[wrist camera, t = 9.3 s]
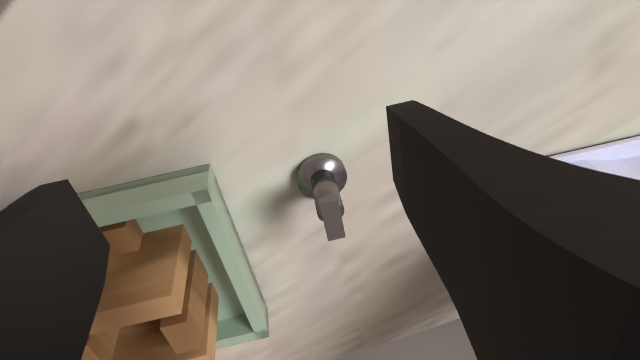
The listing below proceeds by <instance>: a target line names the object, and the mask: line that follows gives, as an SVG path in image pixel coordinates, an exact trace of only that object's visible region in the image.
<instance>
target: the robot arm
mask: <svg viewBox="0 0 640 360" xmlns="http://www.w3.org/2000/svg"><path fill="white" fill-rule="evenodd" d="M386 111H387V121H388V132H389V142H390V152H391V162H392V172H393V181H394V183H395V186H396V189H397V191H398V194H399V197H400V200H401V202H402V205H403V207H404V210H405V212H406V215H407V217H408V219H409V221H410V222H411V224H412V226H413V228H414V230H415V232H416V234H417V235H418V237H419V239H420V241H421V243H422V245H423V247H424V248H425V250H426V252H427V254H428V256H429V258H430V259H431V261H432V263H433V265H434V267H435V268H436V270H437V272H438V274H439V276H440V278H441V279H442V281H443V283H444V285H445V287H446V289H447V290H448V292H449V295H450V297H451V299H452V301H453V303H454V305H455V307H456V309H457V311H458V314H459V316H460V318H461V321H462V323H463V326H464V328H465V330H466V333H467V335H468V338H469V340H470V343H471V345H472V347H473V350H474V352H475V355H476V357H477V360H640V136H636V137H632V138H628V139H623V140H619V141H615V142H610V143H606V144H602V145H597V146H593V147H589V148H584V149H580V150H576V151H571V152H567V153H563V154H558V155H554V156H550V157H547V156H543V155H540V154H537V153H534V152H531V151H528V150H526V149H523V148H520V147H518V146H515V145H512V144H510V143H507V142H505V141H502V140H499V139H497V138H494V137H492V136H490V135H487V134H485V133H483V132H480V131H478V130H476V129H474V128H471V127H469V126H467V125H465V124H463V123H461V122H459V121H456V120H454V119H452V118H450V117H448V116H446V115H444V114H442V113H440V112H438V111H436V110H434V109H432V108H430V107H428V106H425V105H423V104H421V103H419V102H416V101H414V100H412V101H407V102H403V103H399V104H394V105H390V106H386ZM109 250H110V244H109V243H108V241H107V239H106V238H105V236H104V235H103V233H102V232H101V230H100V229H99V227H98V226H97V224H96V223H95V221H94V219H93V218H92V216H91V215H90V213H89V212H88V210H87V209H86V207H85V206H84V204H83V203H82V201H81V200H80V198H79V196H78V195H77V193H76V192H75V190H74V189H73V187H72V186H71V184H70V183H69V181H68V180H67V179H66V180H62V181H57V182H53V183H49V184H44V185H40V186H38V187H37V188H35V189H33V190H31V191H30V192H28V193H26V194H25V195H23V196H22V197H20V198H19V199H17V200H16V201H14V202H13V203H12V204H10V205H9V206H7V207H6V208H5V209H3V210H2V211H1V212H0V360H81V358H82V355H83V352H84V349H85V346H86V343H87V339H88V336H89V333H90V330H91V327H92V324H93V321H94V318H95V314H96V311H97V308H98V305H99V301H100V298H101V295H102V291H103V288H104V284H105V278H106V273H107V267H108V258H109Z"/></svg>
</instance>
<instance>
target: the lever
mask: <svg viewBox="0 0 640 360" xmlns="http://www.w3.org/2000/svg"><path fill="white" fill-rule="evenodd" d="M297 179H298V184H299V188H300V190H301V191H302V192H303V193H304V194H305V195H306V196H308V197H310V198H313V199H314V201H315V205H316V210H317V215H318V217H319V219H320V220H322V221H324V225H325V229H326V234H327V238H328V241H331V240H335V239H340V238H344V237H345V232H344V227H343V222H342V216H343V214H344V207H343V204H342V200H341V197H340V193H339V192H340V191H341V190H342V189H343V188H344V186H345V184H346V180H347V174H346V170H345V167H344V165H343V163H342V161H341V160H340V159H339V158H337V157H336V156H334V155H331V154H326V153H320V154H315V155H312V156H310V157H308V158H307V159H305V160H304V161H303V162H302V163H301V165H300V166H299V169H298V172H297Z"/></svg>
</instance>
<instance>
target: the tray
mask: <svg viewBox="0 0 640 360" xmlns="http://www.w3.org/2000/svg"><path fill="white" fill-rule="evenodd" d="M77 195H78V196H79V198H80V200H81V201H82V203H83V204H84V206H85V207H86V209H87V210H88V212H89V213H90V215H91V216H92V218H93V219H94V221H95V223H96V224H97V226H98V227H102V226H106V225H111V224H115V223H119V222H124V221H128V220H132V219H136V221H137V222H138V224H139V226H140V228H141V229H142V231H143V233H146V232H151V231H155V230H159V229H164V228H168V227H172V226H177V225H181V224H184V226H185V228H186V230H187V232H188V234H189V236H190V238H191V240H192V244H191V250H196V251H197V253H198V255H199V257H200V259H201V261H202V263H203V265H204V267H205V269H206V271H207V273H208V275H209V276H208V283H211V282H212V283H213V285H214V287H215V289H216V291H217V293H218V295H219V302H218V318H217V335H216V349H219V348H223V347H227V346H231V345H236V344H240V343H244V342H249V341H253V340H257V339H261V338H266V337H269V326H268V309H267V306H266V304H265V301H264V299H263V296H262V294H261V291H260V289H259V286H258V283H257V281H256V278H255V276H254V273H253V271H252V268H251V266H250V263H249V261H248V258H247V256H246V253H245V251H244V248H243V246H242V243H241V241H240V238H239V236H238V233H237V231H236V228H235V226H234V223H233V221H232V218H231V216H230V213H229V211H228V208H227V206H226V203H225V201H224V198H223V196H222V193H221V191H220V188H219V186H218V183H217V181H216V178H215V176H214V173H213V171H212V168H211V166H210V164H207V165H202V166H198V167H194V168H189V169H185V170H181V171H176V172H172V173H168V174H163V175H159V176H154V177H150V178H146V179H141V180H137V181H133V182H128V183H124V184H120V185H115V186H111V187H106V188H102V189H98V190H93V191H89V192H85V193H80V194H77Z"/></svg>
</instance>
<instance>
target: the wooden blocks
mask: <svg viewBox="0 0 640 360" xmlns="http://www.w3.org/2000/svg"><path fill="white" fill-rule="evenodd" d="M99 229H100V230H101V232H102V233H103V235H104V236H105V238H106V239H107V241H108V243H109V244H110V250H109V258H108V267H107V273H106V278H105V284H104V288H103V291H102V295H101V298H100V301H99V305H98V308H97V311H96V314H95V318H94V321H93V324H92V327H91V330H90V333H89V336H88V339H87V343H86V346H85V349H84V352H83V355H82V358H81V360H215V351H216V335H217V318H218V302H219V295H218V293H217V291H216V289H215V287H214V285H213V283H212V282H211V283H208V276H209V275H208V273H207V271H206V269H205V267H204V265H203V263H202V261H201V259H200V257H199V255H198V253H197V251H196V250H191V244H192V240H191V238H190V236H189V234H188V232H187V230H186V228H185V226H184V224H181V225H177V226H172V227H168V228H164V229H159V230H155V231H151V232H146V233H143V231H142V229H141V228H140V226H139V224H138V222H137V221H136V219H132V220H128V221H124V222H119V223H115V224H111V225H106V226H102V227H99Z"/></svg>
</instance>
